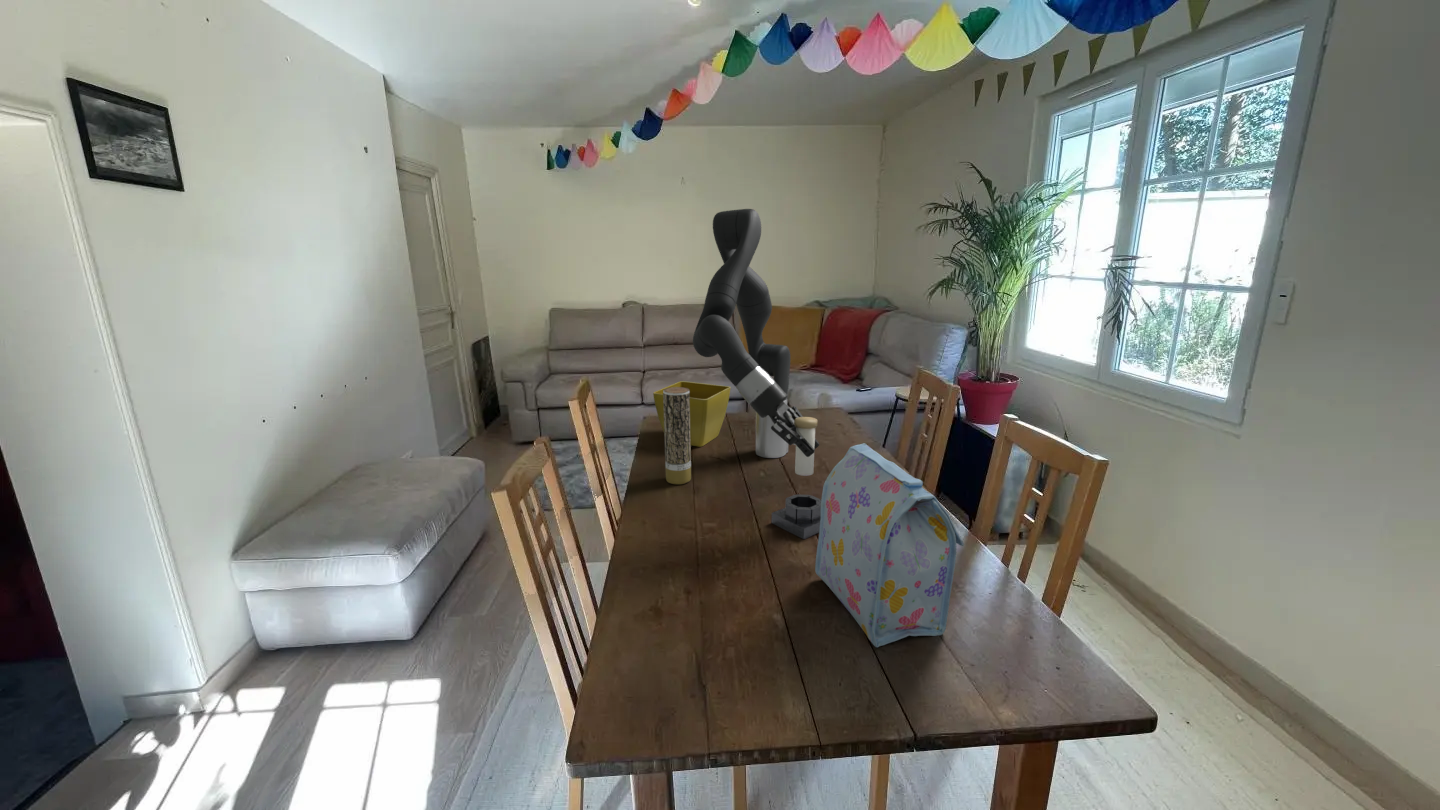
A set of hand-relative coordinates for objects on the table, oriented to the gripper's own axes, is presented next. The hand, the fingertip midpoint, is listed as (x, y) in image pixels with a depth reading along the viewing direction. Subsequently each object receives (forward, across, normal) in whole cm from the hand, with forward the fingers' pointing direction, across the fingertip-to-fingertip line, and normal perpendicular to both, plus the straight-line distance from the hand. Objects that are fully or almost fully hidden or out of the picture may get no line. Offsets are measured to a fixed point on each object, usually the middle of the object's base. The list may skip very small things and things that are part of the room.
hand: (813, 450), depth 127 cm
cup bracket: (+11, 0, +14) cm, 18 cm away
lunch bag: (+26, -25, 0) cm, 36 cm away
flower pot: (-22, +47, +48) cm, 71 cm away
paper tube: (-15, +13, +40) cm, 45 cm away
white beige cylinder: (+2, 0, +5) cm, 6 cm away
